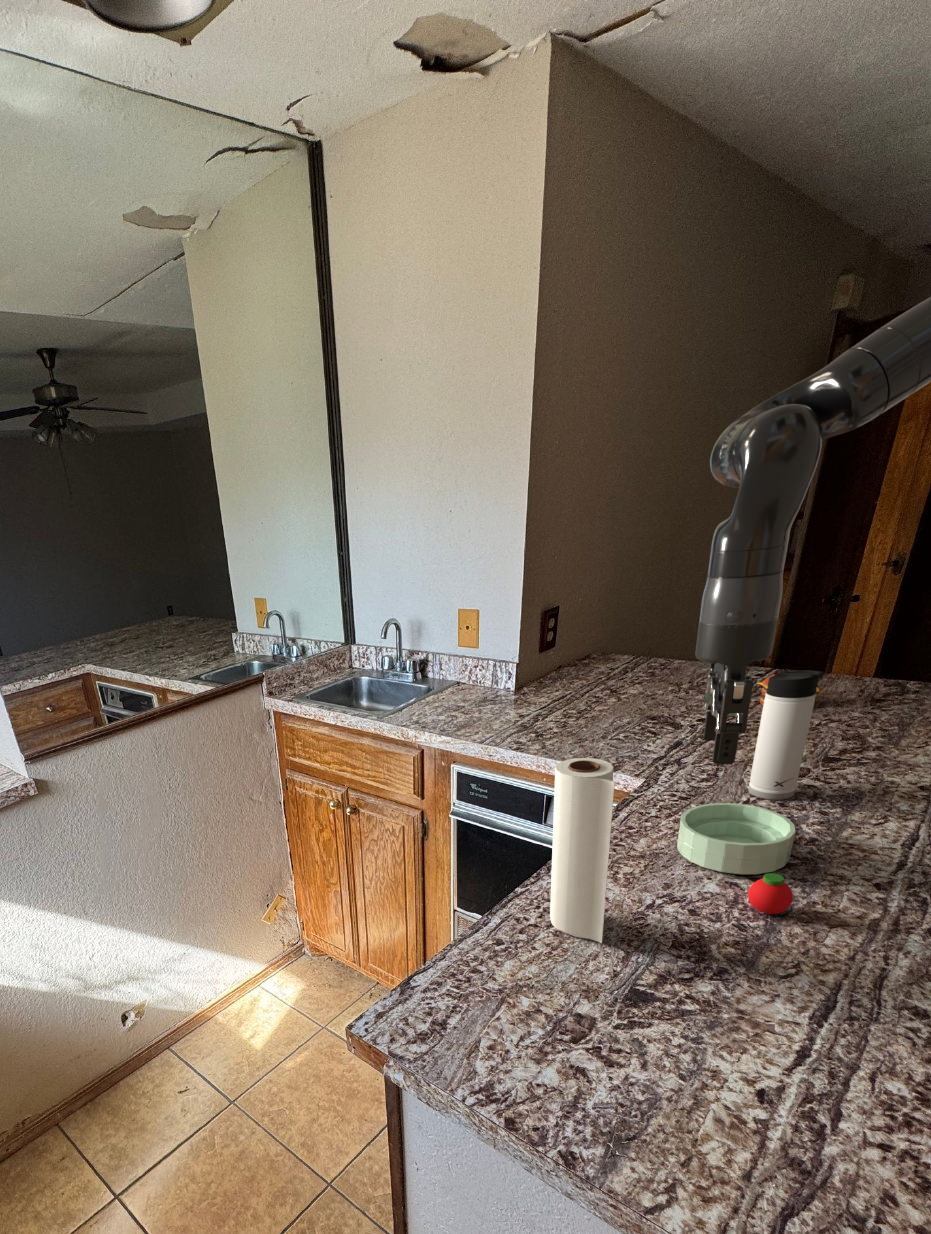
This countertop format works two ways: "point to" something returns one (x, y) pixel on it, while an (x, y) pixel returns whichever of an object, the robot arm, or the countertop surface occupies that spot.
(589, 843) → the paper towel roll
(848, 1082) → the countertop surface
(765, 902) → the red tomato
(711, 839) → the bowl
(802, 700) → the travel mug
